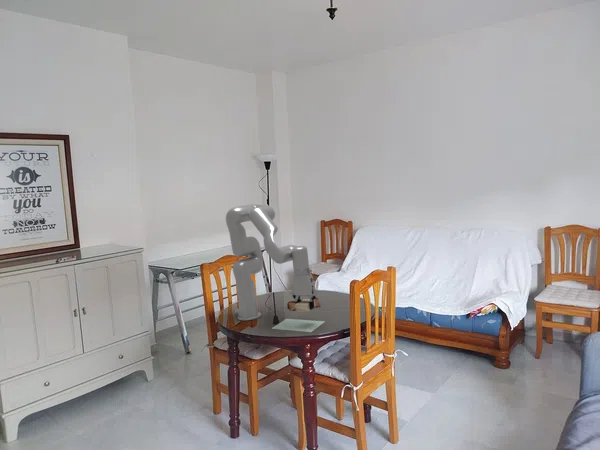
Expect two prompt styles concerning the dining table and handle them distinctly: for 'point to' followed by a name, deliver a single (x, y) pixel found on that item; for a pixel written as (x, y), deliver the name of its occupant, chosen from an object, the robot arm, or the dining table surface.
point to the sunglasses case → (292, 303)
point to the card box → (303, 306)
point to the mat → (298, 325)
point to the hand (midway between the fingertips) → (305, 308)
